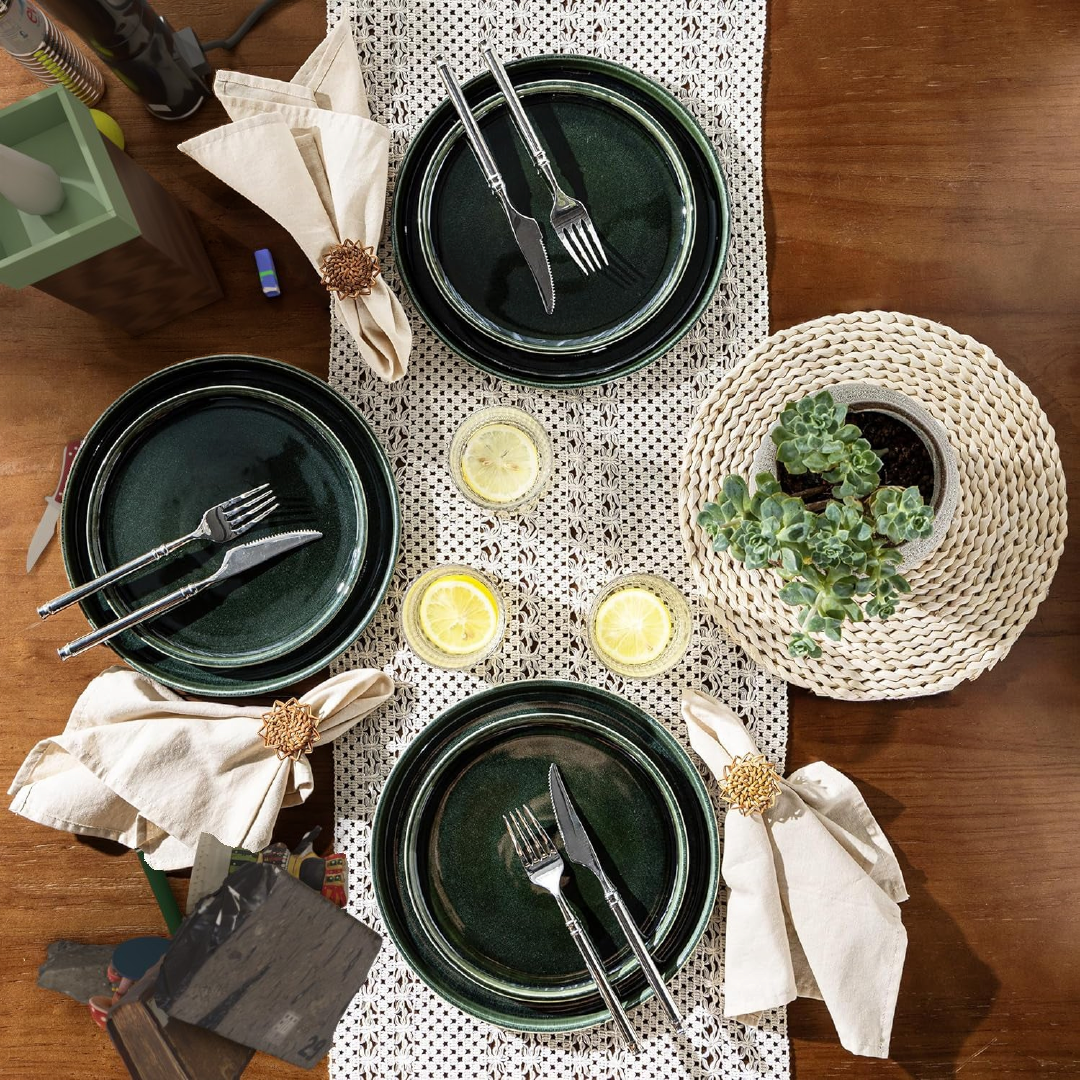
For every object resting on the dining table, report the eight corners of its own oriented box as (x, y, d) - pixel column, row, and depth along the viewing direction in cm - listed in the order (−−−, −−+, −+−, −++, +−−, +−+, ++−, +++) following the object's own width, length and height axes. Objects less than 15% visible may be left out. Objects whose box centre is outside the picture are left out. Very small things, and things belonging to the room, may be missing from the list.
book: (199, 911, 113) (95, 1014, 88) (244, 890, 113) (153, 987, 88) (249, 1019, 113) (159, 1153, 88) (294, 998, 113) (216, 1127, 88)
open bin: (89, 108, 90) (60, 81, 85) (142, 234, 90) (116, 215, 85) (-36, 164, 91) (-72, 142, 86) (17, 290, 91) (-16, 275, 85)
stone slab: (285, 874, 91) (414, 957, 111) (255, 828, 97) (381, 915, 117) (152, 1013, 86) (312, 1075, 105) (129, 955, 92) (284, 1024, 112)
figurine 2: (177, 960, 100) (340, 962, 106) (196, 840, 100) (359, 848, 105) (191, 911, 112) (337, 914, 117) (208, 803, 112) (354, 812, 117)
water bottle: (106, 111, 115) (-22, -10, 90) (60, 111, 115) (-82, -9, 90) (107, 63, 115) (-21, -71, 90) (60, 64, 115) (-80, -70, 90)
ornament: (128, 179, 115) (86, 145, 105) (81, 169, 115) (34, 134, 105) (139, 131, 115) (98, 91, 105) (91, 121, 115) (46, 80, 105)
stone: (35, 1012, 112) (-2, 1008, 104) (58, 942, 117) (25, 933, 108) (167, 1018, 112) (141, 1015, 104) (185, 948, 117) (162, 940, 109)
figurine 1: (103, 935, 107) (88, 995, 108) (96, 980, 99) (78, 1045, 99) (198, 937, 112) (183, 994, 113) (199, 980, 104) (182, 1042, 104)
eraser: (263, 292, 112) (277, 289, 112) (253, 251, 112) (267, 248, 112) (267, 297, 114) (281, 294, 114) (257, 256, 114) (271, 253, 114)
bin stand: (186, 207, 114) (85, 117, 90) (224, 296, 114) (133, 230, 90) (98, 247, 115) (-27, 168, 91) (135, 336, 115) (20, 281, 91)
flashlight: (165, 829, 116) (221, 960, 114) (131, 846, 115) (186, 978, 113) (152, 836, 111) (210, 974, 109) (116, 854, 110) (174, 993, 108)
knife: (67, 435, 113) (87, 443, 113) (72, 436, 115) (92, 444, 115) (13, 568, 114) (33, 576, 114) (18, 568, 115) (38, 576, 115)
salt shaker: (82, 184, 90) (-1, 123, 77) (60, 231, 90) (-26, 178, 77) (35, 163, 90) (-55, 98, 77) (14, 209, 90) (-80, 153, 77)
